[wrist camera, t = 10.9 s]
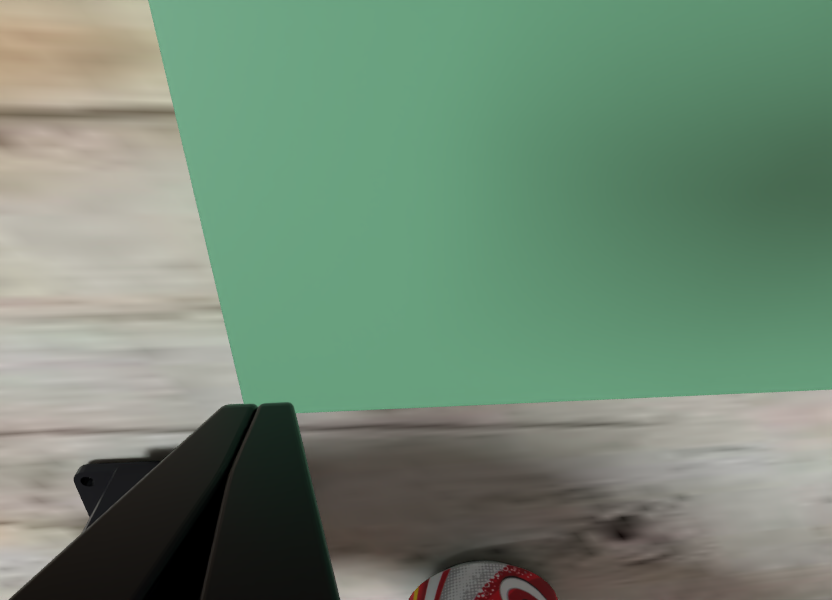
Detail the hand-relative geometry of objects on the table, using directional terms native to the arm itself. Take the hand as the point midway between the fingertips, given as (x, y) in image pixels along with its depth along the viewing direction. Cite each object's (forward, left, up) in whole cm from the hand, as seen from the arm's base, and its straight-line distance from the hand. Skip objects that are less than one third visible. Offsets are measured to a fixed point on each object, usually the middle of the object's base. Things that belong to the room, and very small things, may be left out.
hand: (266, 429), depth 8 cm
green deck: (0, -10, -12) cm, 15 cm away
